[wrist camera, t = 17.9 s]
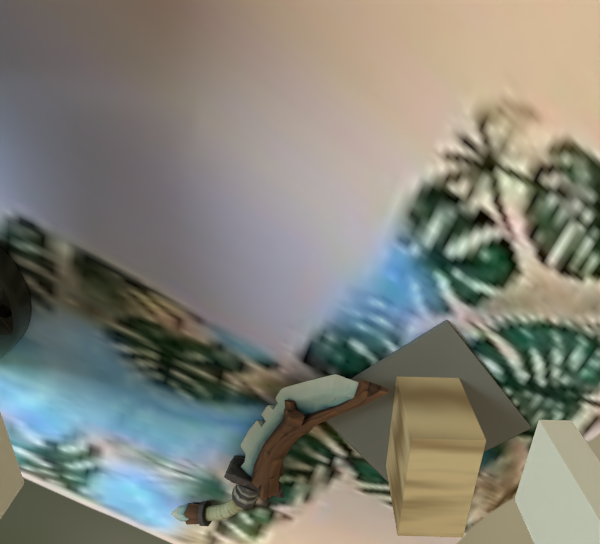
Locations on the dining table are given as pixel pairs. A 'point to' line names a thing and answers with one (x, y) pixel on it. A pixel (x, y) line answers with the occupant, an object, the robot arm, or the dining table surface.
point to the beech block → (432, 456)
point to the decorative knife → (280, 441)
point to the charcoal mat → (428, 363)
